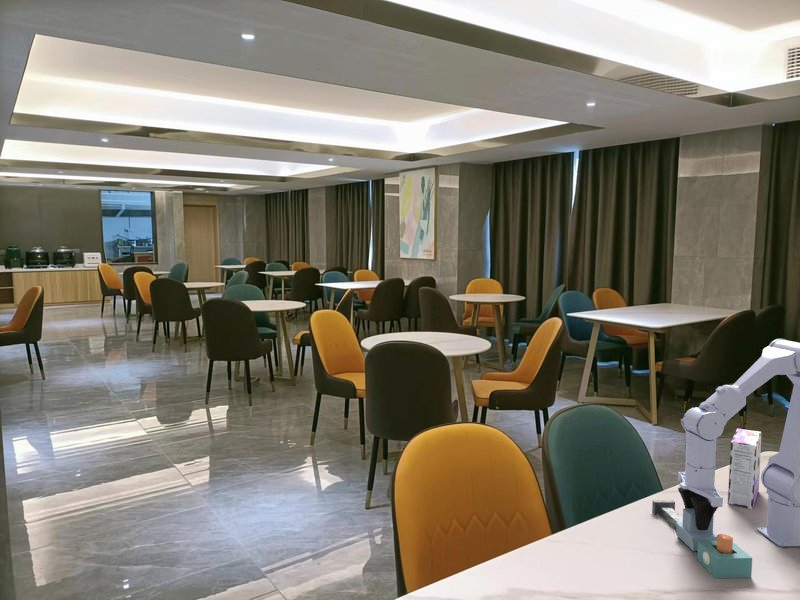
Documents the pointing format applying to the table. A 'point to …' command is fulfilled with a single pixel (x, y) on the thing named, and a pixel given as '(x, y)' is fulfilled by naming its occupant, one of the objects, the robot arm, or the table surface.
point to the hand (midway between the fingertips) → (697, 525)
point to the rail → (667, 511)
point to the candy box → (744, 468)
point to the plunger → (724, 544)
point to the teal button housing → (724, 561)
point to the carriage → (693, 530)
